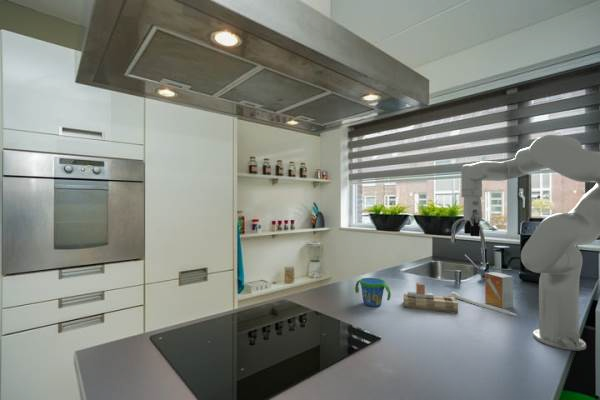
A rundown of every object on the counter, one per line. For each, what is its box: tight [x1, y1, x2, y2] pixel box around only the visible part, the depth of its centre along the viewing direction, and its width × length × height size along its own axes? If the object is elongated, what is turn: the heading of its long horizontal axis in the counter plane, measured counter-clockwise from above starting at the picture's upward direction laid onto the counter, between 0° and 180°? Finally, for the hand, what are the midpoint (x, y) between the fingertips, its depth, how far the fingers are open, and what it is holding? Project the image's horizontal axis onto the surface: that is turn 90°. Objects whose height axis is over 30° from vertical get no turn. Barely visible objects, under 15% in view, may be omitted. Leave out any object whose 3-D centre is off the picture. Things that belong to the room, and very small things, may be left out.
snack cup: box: [354, 277, 392, 308], centre depth 127 cm, size 16×10×10 cm
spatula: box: [448, 291, 518, 317], centre depth 126 cm, size 28×4×3 cm, turn 30°
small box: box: [484, 271, 514, 310], centre depth 127 cm, size 8×6×13 cm
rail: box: [403, 292, 459, 314], centre depth 123 cm, size 7×20×4 cm, turn 73°
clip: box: [407, 282, 435, 299], centre depth 124 cm, size 3×10×9 cm, turn 74°
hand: (471, 234), depth 124 cm, fingers open, 9 cm apart
